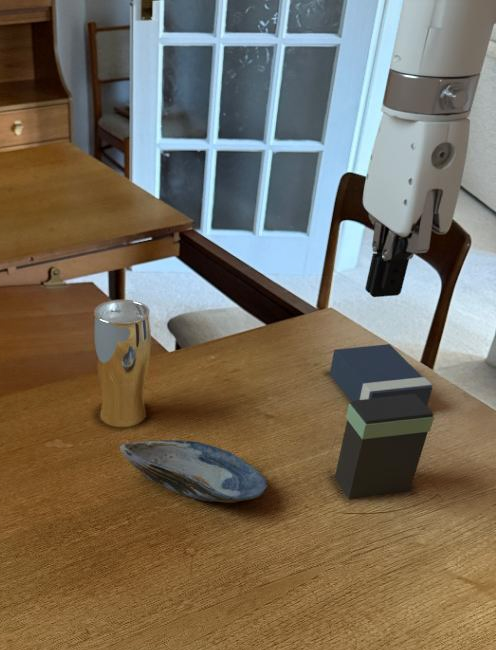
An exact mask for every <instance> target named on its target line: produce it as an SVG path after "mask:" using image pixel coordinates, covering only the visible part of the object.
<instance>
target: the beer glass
mask: <svg viewBox="0 0 496 650" xmlns="http://www.w3.org/2000/svg"><path fill="white" fill-rule="evenodd" d="M150 318H151V317H150V308H149V307H148V306H147V305H146V304H145V303H143V302H140V301H137V300H133V299H132V300H131V299H113V300H108V301H105V302H102V303H100V304H99V305H98V306H96V307H95V308H94V310H93V329H92V330H93V334H92V335H93V336H92V337H93V338H92V340H93V341H92V344H93V355H94V362H95V366H96V367H95V368H96V373H97V376H98V380H99V384H100V389H101V397H102V399H101V400H102V402H101V410H100V415H99V416H100V420H101V421H102V422H104V423H105V424H107V425H109V426H112V427H117V428H128V427H133V426H136V425H138V424H140V423H141V422H143V421H144V420H145V419H146V416H147V411H146V407H145V399H144V393H145V386H146V381H147V377H148V372H149V365H150V360H151V359H150V358H151V352H152V351H151V350H152V349H151V348H152V331H151V319H150Z"/></svg>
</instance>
